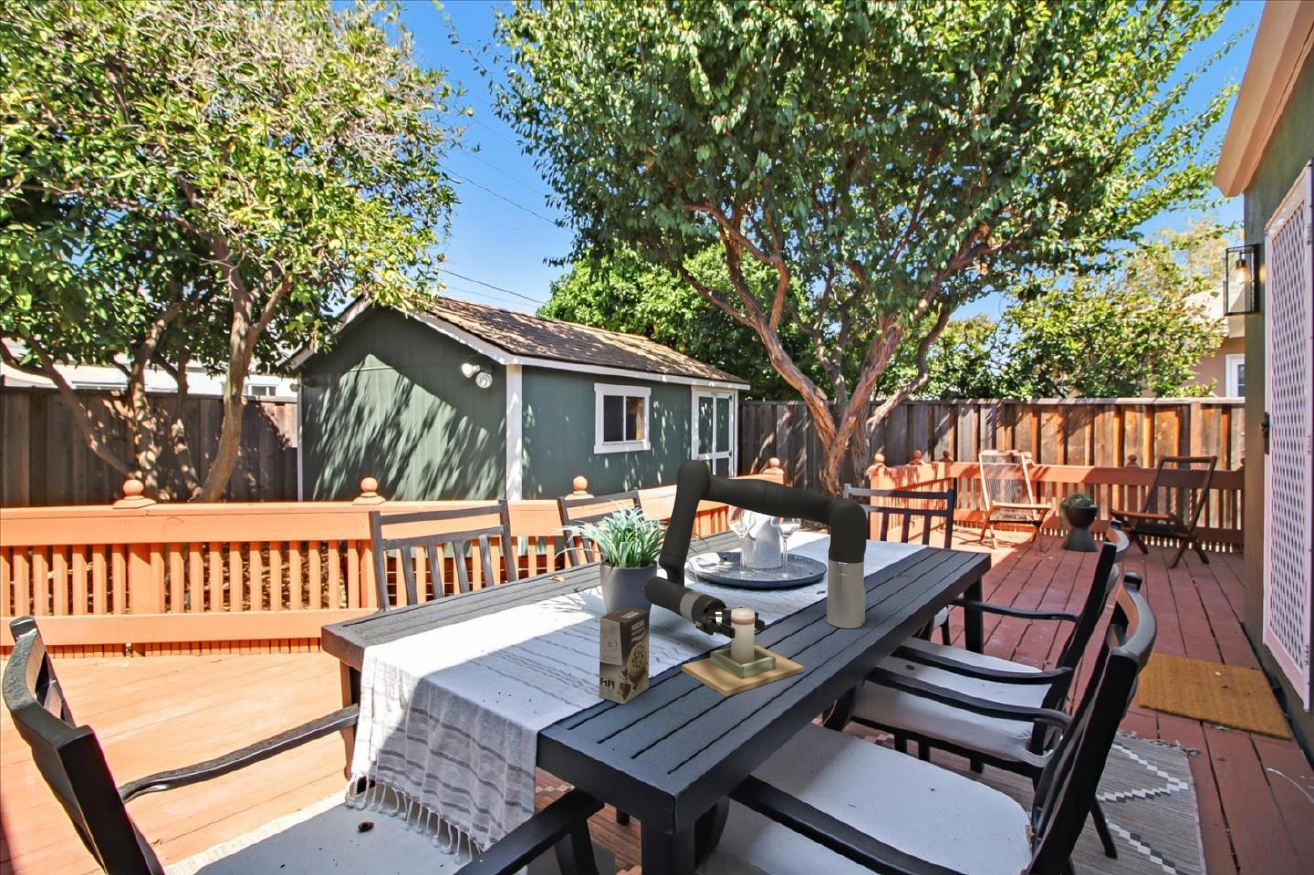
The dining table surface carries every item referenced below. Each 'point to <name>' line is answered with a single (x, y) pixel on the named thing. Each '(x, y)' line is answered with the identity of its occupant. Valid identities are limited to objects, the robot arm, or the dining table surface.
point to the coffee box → (624, 654)
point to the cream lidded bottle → (742, 635)
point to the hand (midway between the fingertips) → (749, 630)
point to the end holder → (740, 670)
